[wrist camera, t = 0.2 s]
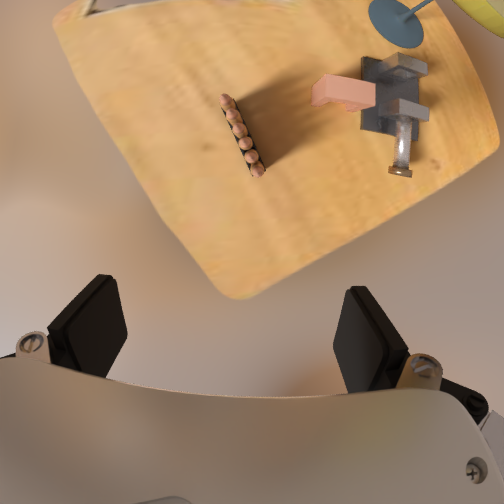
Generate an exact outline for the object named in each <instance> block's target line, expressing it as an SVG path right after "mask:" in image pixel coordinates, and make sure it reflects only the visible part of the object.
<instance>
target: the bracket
mask: <svg viewBox="0 0 504 504" xmlns="http://www.w3.org/2000/svg"><path fill="white" fill-rule="evenodd" d="M424 76H428V67H427V63H425V62H423V61H421V60H418V59H415V58H413V57H410V56H407V55H404V54H402V53H399V52H397V53H395V54H393V55H392V56H390V57H388V58H386V59H384V60H383V61H379V60H375V59H371V58H368V57H364V56H363V57H362V58H361V80H362V81H366V82H370V83H374V84H375V106H373V107H369V108H366V109H362V110H361V127H360V129H361V130H367V131H372V132H377V133H382V134H387V135H391V136H395V126H396V115H402V116H406V117H410V118H412V129H411V140H412V141H418V122H427V121H429V108H428V107H425V106H422V105H419V94H418V78H421V77H424Z"/></svg>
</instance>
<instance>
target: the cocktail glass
mask: <svg viewBox="0 0 504 504" xmlns="http://www.w3.org/2000/svg"><path fill="white" fill-rule="evenodd" d="M431 1H433V0H425V1H423V2H422V3H420V4H419V5H417V6H416V7H414V8H412V9H411V10H410V9H409V8H408V7H406V6H405V5H403V4H402V3H400V2H398V1H396V0H374V1H372V2H371V4H370V6H369V16H370V19H371V22H372V23H373V25H374V27H375V28H376V29H377V31H378V32H379V33H380V34H381V35H382V36H383V37H384V38H386V39H387V40H388V41H390V42H391V43H393V44H395V45H397V46H400V47H403V48H415V47H417V46H419V45H420V44H421V42H422V40H423V29H422V26H421V24H420V22H419V20H418V18H417V17H416V16H415V14H414V13H415V12H416V11H418V10H419V9H421V8H422V7H424V6H425V5H427V4H428V3H430V2H431ZM452 1H454V2H455V3H456V4H457V5H458V6H459V7H460V8H461V9H462V10H463V11H464V12H465V13H467V14H468V15H469V16H470V17H471V18H473V19H474V20H475V21H476V22H478V23H479V24H480V25H482V26H483V27H485V28H486V29H487V30H489V31H490V32H492V33H494V34H496V35H497V36H499V37H501V38H504V0H452Z"/></svg>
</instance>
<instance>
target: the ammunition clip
mask: <svg viewBox="0 0 504 504" xmlns="http://www.w3.org/2000/svg"><path fill="white" fill-rule="evenodd" d="M220 106H221V108H222V110H223V112H224V114H225V117H226V119H227V121H228V123H229V125H230V128H231V130H232V132H233V134H234V136H235V139H236V141H237V143H238V145H239V147H240V150H241V152H242V154H243V156H244V159H245V161H246V163H247V165H248V168H249V170H250V172H251V174H252V176H255V177H261V176H262V175H263V174H264V172H265V171H266V169H265V167H264V165H263V162H262V160H261V158H260V155H259V153H258V151H257V149H256V146H255V144H254V142H253V140H252V137H251V135H250V133H249V131H248V128H247V126H246V124H245V122H244V120H243V117H242V115H241V113H240V111H239V109H238V107H237V104H236V102H235V100H234V99H232V98H231V97H230V96H229V95H227V94H222V95H221V96H220Z"/></svg>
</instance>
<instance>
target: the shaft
mask: <svg viewBox="0 0 504 504" xmlns="http://www.w3.org/2000/svg"><path fill="white" fill-rule="evenodd" d="M411 129H412V118H410V117H406V116H402V115H396V126H395V145H394V159H393V167H392V166H389V169H388V173H390V174H395V175H400V176H405V177H411V178H412V170H409V160H410V147H411Z"/></svg>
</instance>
